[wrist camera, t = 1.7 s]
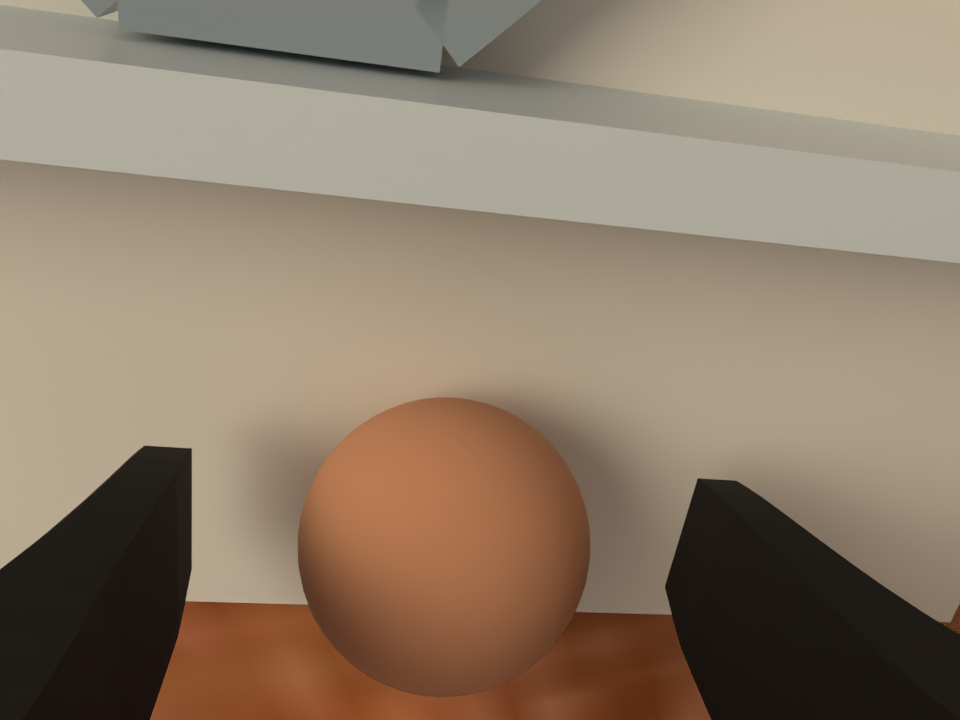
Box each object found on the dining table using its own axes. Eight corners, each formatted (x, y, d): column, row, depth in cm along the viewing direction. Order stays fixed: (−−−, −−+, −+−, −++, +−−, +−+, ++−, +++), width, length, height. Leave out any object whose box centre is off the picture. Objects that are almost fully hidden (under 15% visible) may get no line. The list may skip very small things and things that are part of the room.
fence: (1145, 229, 13) (1340, 304, 11) (-643, 13, 9) (-1037, 46, 7) (1176, 165, 13) (1388, 227, 10) (-683, -90, 9) (-1121, -96, 6)
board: (921, 587, 18) (949, 622, 17) (-371, 541, 14) (-421, 583, 13) (1485, -626, 10) (1596, -680, 9) (-1086, -1520, 6) (-1333, -1766, 5)
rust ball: (534, 565, 15) (588, 765, 11) (299, 557, 14) (278, 767, 11) (579, 360, 13) (659, 518, 10) (314, 338, 13) (295, 501, 9)
